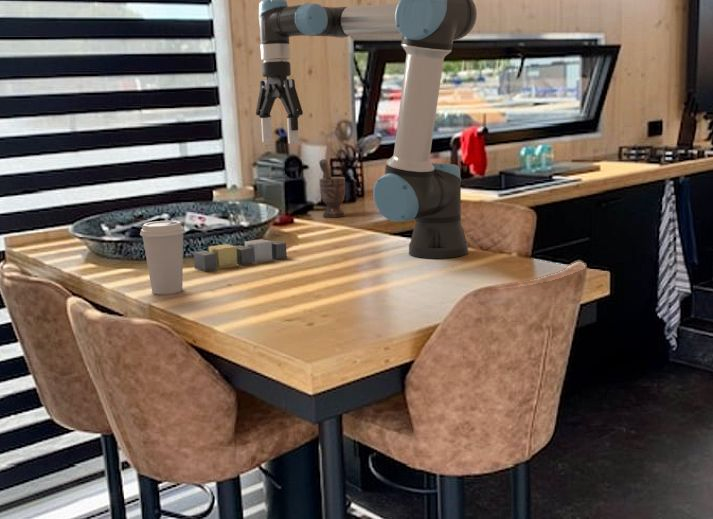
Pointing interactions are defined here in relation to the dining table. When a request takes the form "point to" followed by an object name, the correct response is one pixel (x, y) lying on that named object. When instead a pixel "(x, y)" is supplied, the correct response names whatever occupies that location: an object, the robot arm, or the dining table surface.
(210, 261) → the dark grey cubes
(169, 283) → the coffee cup
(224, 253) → the yellow cube
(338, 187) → the mortar and pestle
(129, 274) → the dining table surface
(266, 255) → the light gray cube
